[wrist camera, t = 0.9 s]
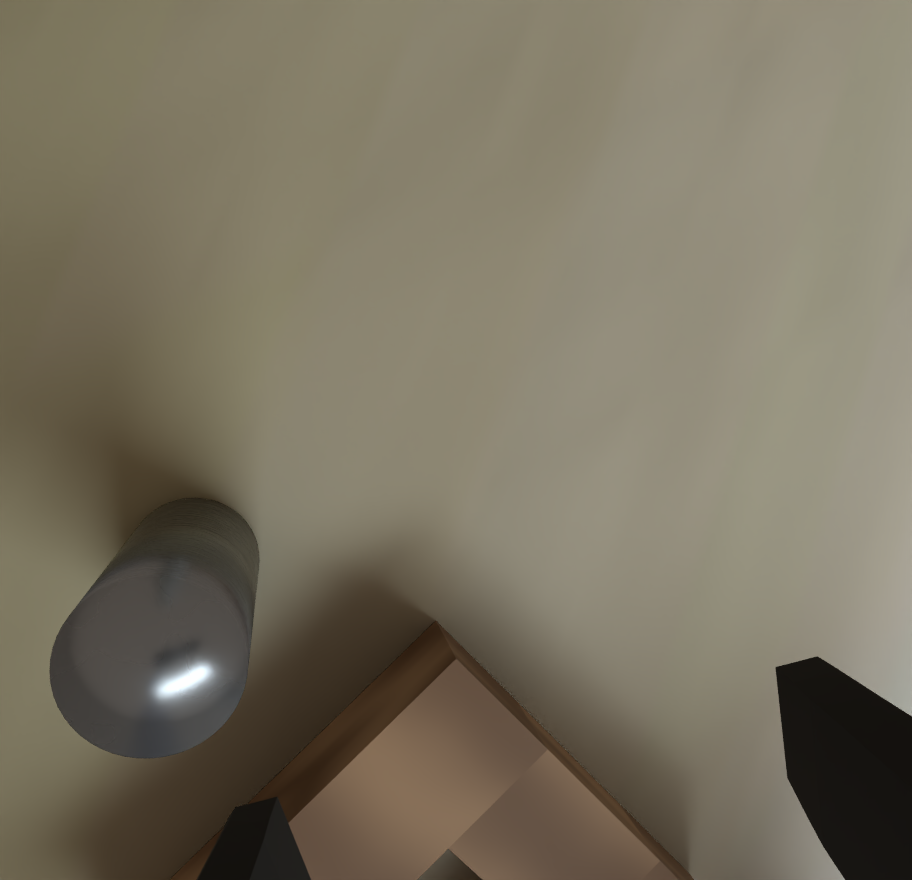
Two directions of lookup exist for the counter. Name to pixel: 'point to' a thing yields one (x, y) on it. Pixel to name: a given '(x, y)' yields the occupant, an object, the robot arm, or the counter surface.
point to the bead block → (450, 786)
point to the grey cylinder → (162, 634)
